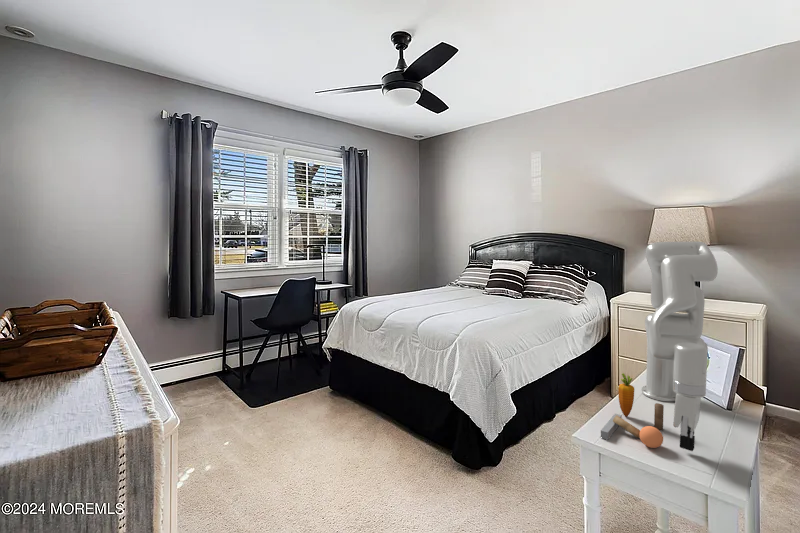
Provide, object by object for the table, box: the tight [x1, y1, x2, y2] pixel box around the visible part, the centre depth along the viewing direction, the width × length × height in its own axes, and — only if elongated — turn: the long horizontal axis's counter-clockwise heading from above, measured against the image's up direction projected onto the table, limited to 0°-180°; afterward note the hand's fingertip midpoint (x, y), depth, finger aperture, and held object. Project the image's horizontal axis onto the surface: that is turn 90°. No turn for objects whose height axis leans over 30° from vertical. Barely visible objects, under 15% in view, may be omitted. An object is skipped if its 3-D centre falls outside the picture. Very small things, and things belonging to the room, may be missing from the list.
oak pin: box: [613, 415, 641, 439], centre depth 126 cm, size 2×2×8 cm
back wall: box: [600, 413, 623, 441], centre depth 129 cm, size 14×2×2 cm, turn 135°
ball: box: [639, 425, 664, 449], centre depth 118 cm, size 6×6×6 cm
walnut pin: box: [653, 402, 665, 432], centre depth 128 cm, size 2×2×8 cm
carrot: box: [617, 372, 635, 418], centre depth 136 cm, size 5×5×15 cm
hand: (686, 448), depth 115 cm, fingers closed
